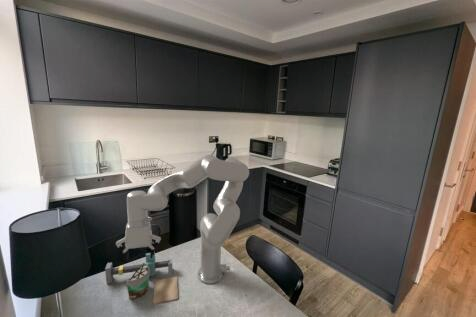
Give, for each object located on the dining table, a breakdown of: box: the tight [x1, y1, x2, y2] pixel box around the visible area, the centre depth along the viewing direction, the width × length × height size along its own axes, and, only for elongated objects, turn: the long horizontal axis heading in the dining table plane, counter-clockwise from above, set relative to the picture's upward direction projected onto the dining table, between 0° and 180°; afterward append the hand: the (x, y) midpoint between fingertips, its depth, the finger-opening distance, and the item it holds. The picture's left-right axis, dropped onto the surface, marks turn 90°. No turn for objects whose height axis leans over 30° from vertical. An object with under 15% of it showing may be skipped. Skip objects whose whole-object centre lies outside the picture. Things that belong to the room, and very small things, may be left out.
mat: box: [152, 276, 179, 305], centre depth 102 cm, size 10×13×1 cm
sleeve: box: [145, 251, 157, 277], centre depth 110 cm, size 4×6×10 cm
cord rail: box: [104, 258, 174, 285], centre depth 109 cm, size 29×4×8 cm, turn 107°
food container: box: [125, 262, 150, 300], centre depth 100 cm, size 12×6×10 cm, turn 168°
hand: (139, 257), depth 97 cm, fingers open, 9 cm apart
